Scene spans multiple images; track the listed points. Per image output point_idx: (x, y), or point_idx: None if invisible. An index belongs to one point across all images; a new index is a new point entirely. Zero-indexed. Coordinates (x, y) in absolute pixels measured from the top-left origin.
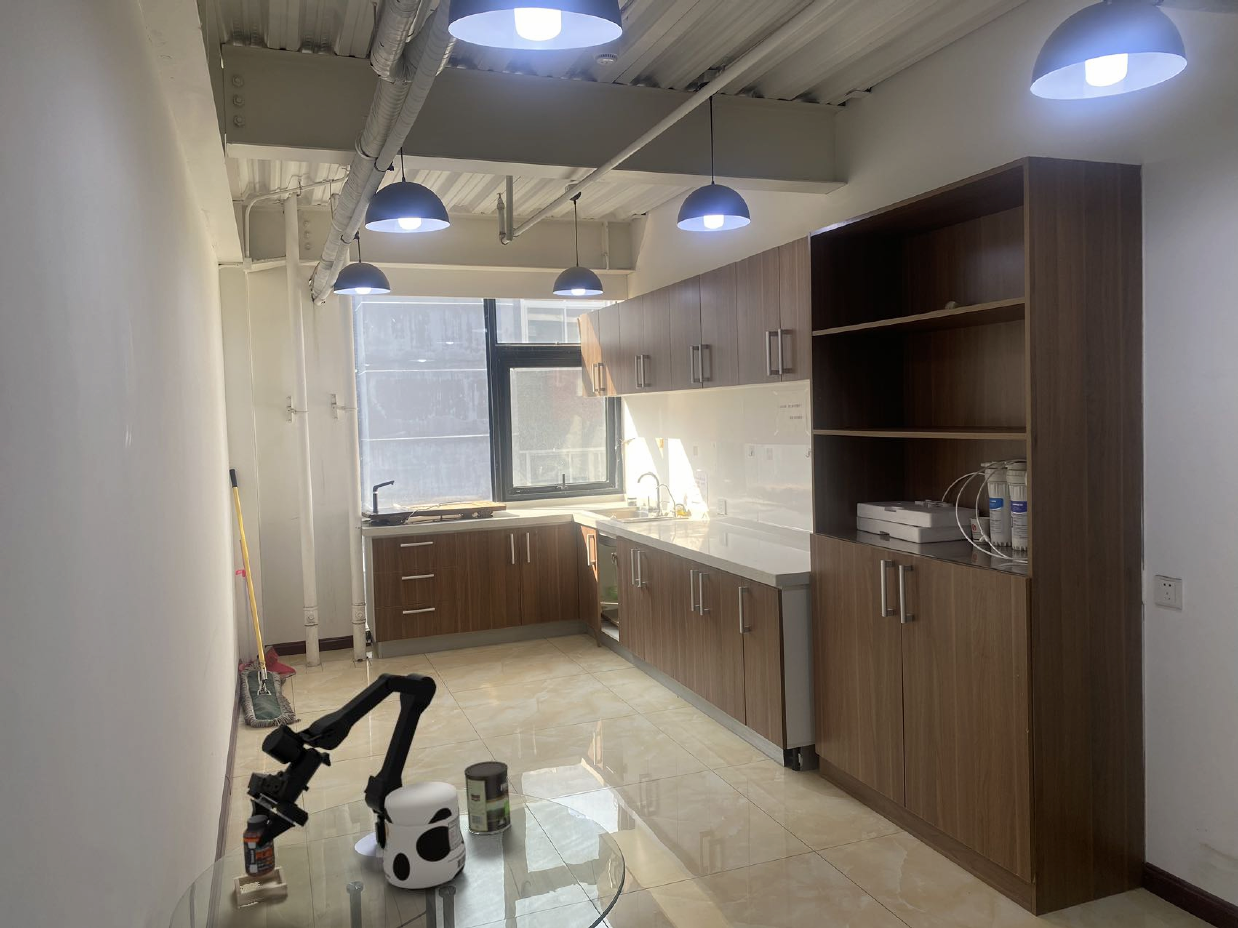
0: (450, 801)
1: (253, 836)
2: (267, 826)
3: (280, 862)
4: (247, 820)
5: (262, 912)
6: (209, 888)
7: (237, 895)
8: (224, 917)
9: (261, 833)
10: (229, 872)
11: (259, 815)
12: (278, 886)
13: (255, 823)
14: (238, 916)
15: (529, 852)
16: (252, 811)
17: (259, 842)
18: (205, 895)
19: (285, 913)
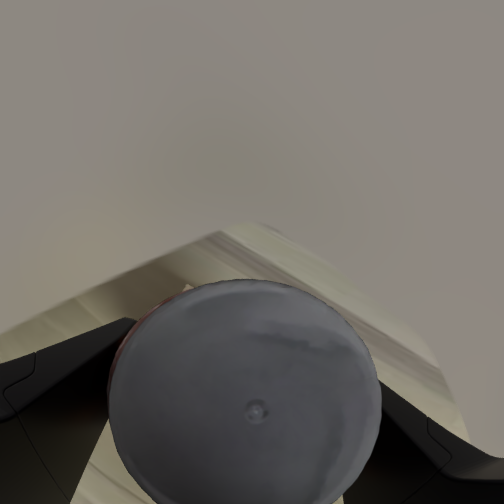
0: None
1: (157, 307)
2: (31, 377)
3: None
4: (317, 301)
5: (106, 314)
6: (373, 322)
7: (192, 288)
8: (181, 251)
9: (115, 360)
10: (411, 396)
11: (328, 485)
12: None
13: (150, 319)
14: (150, 271)
15: None
16: (482, 452)
17: (108, 325)
18: (345, 295)
19: (48, 335)
